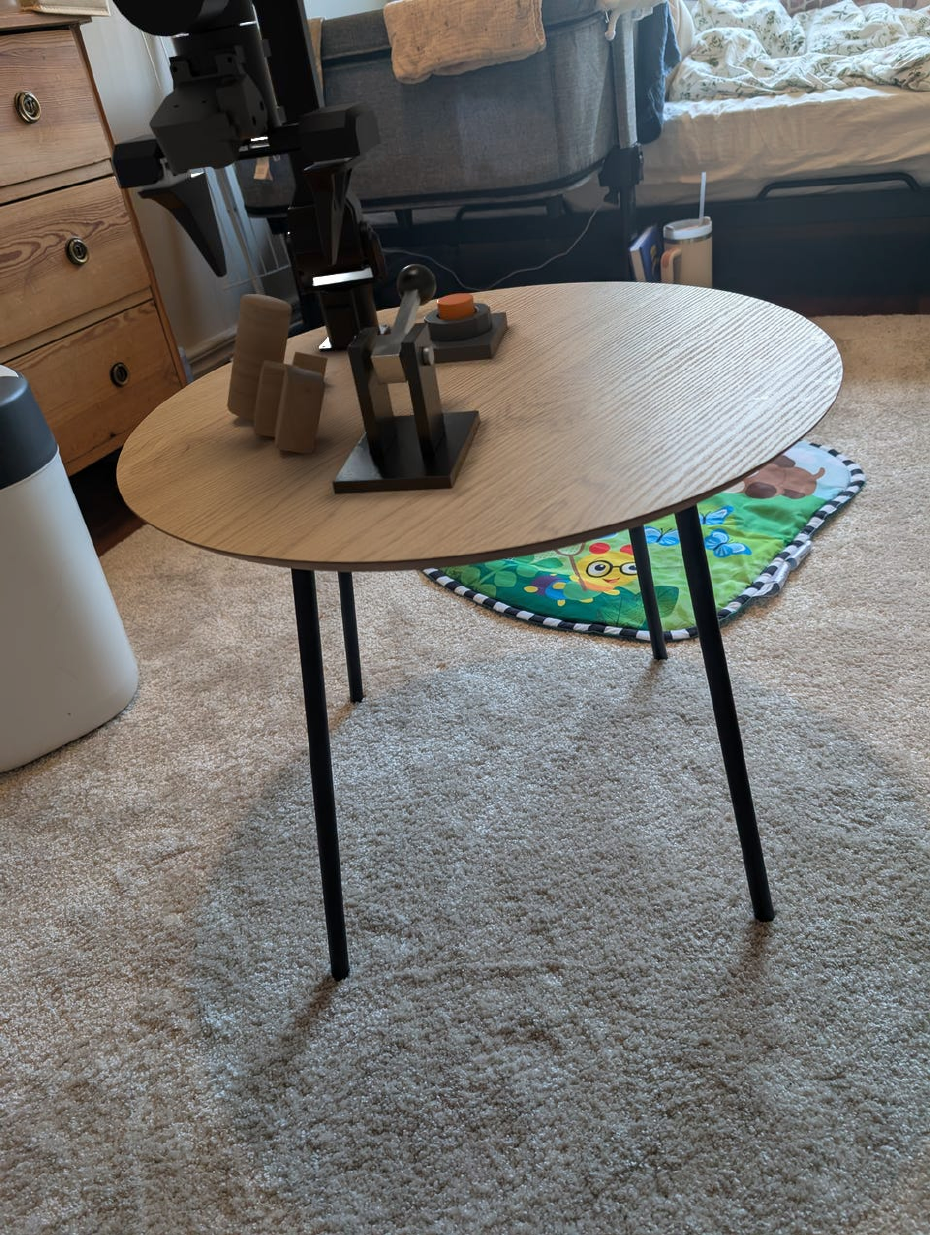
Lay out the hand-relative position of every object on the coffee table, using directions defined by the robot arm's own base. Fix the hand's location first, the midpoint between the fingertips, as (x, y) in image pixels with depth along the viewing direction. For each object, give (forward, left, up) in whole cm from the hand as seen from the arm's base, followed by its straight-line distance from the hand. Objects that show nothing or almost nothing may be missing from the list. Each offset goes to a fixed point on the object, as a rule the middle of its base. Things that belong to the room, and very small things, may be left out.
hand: (276, 270), depth 69 cm
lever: (0, +10, -6) cm, 11 cm away
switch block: (-21, +9, -14) cm, 27 cm away
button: (-21, +9, -11) cm, 25 cm away
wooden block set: (-4, -4, -14) cm, 15 cm away
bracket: (+5, +10, -14) cm, 18 cm away
